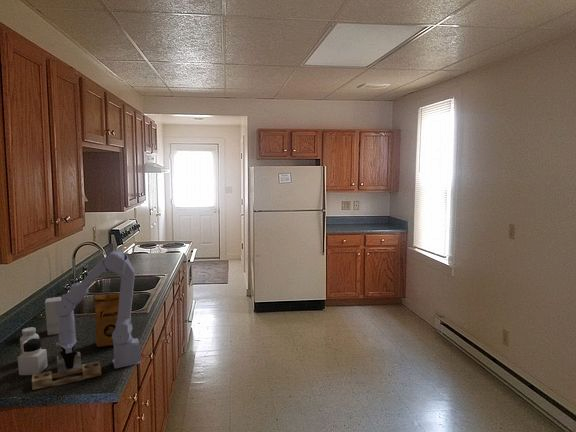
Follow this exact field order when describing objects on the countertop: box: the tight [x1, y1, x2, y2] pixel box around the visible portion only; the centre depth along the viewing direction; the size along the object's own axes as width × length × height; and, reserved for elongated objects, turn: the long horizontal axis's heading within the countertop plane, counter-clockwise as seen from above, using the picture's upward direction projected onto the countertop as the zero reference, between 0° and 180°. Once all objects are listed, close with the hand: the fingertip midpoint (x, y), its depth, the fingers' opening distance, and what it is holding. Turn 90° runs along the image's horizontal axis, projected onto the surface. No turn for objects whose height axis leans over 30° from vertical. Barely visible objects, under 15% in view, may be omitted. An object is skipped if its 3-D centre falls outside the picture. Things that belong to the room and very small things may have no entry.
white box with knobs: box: [56, 351, 82, 373], centre depth 170 cm, size 8×4×6 cm, turn 118°
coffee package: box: [93, 292, 120, 348], centre depth 191 cm, size 10×12×22 cm
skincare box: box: [44, 296, 62, 336], centre depth 206 cm, size 8×7×16 cm
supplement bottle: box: [19, 326, 40, 355], centre depth 176 cm, size 7×7×13 cm
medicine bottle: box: [17, 338, 49, 376], centre depth 167 cm, size 7×7×12 cm
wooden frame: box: [31, 360, 102, 391], centre depth 161 cm, size 22×7×3 cm, turn 118°
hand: (69, 364), depth 170 cm, fingers open, 7 cm apart
